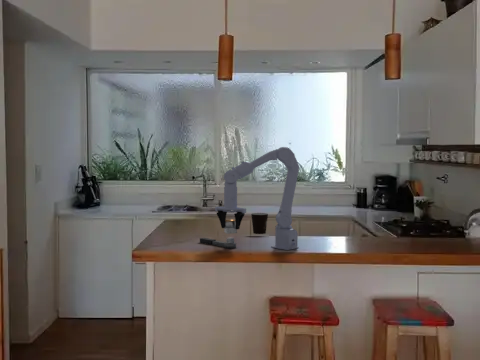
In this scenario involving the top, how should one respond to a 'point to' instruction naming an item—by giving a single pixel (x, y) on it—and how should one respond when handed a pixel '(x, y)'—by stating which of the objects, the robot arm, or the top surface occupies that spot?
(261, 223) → the coffee mug
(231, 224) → the socket
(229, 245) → the ratchet
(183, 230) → the top surface
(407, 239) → the top surface
